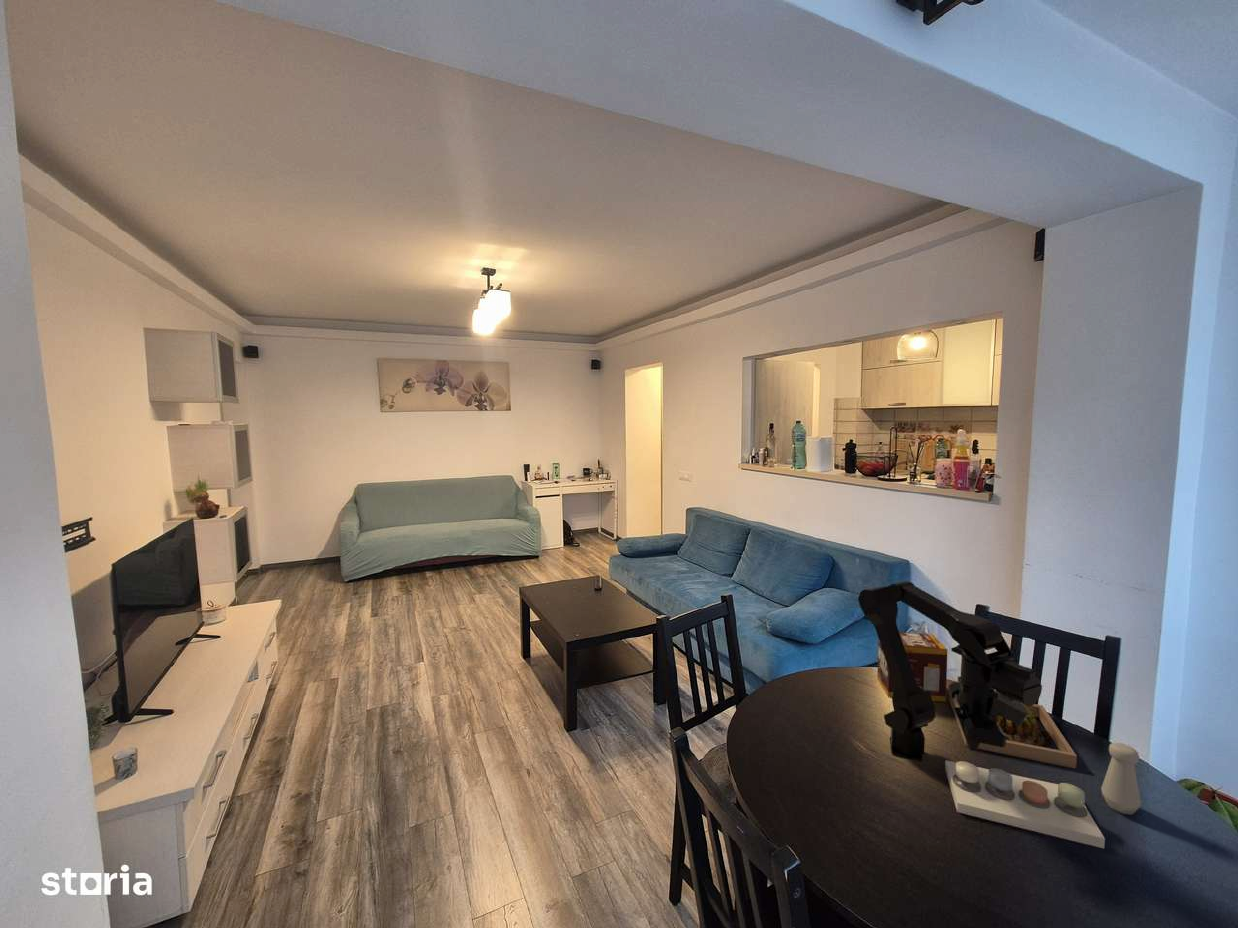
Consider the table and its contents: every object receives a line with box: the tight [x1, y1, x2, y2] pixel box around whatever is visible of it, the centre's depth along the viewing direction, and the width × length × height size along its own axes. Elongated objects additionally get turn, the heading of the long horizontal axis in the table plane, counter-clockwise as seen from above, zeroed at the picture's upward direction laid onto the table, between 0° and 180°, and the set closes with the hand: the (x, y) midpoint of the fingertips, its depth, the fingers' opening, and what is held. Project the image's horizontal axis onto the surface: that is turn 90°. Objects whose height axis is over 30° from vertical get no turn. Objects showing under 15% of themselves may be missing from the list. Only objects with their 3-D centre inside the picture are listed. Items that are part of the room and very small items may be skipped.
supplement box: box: [876, 631, 949, 702], centre depth 149 cm, size 10×15×16 cm
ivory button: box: [956, 760, 979, 783], centre depth 108 cm, size 4×4×2 cm
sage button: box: [1058, 782, 1086, 807], centre depth 101 cm, size 4×4×2 cm
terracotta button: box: [1022, 781, 1048, 804], centre depth 104 cm, size 4×4×2 cm
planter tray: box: [948, 694, 1078, 769], centre depth 129 cm, size 21×22×3 cm
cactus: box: [991, 702, 1053, 748], centre depth 130 cm, size 17×16×10 cm
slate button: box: [988, 767, 1013, 791], centre depth 106 cm, size 4×4×2 cm
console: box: [944, 759, 1106, 849], centre depth 105 cm, size 23×14×2 cm, turn 66°
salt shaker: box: [1100, 742, 1142, 816], centre depth 103 cm, size 6×6×13 cm
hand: (972, 749), depth 108 cm, fingers closed
